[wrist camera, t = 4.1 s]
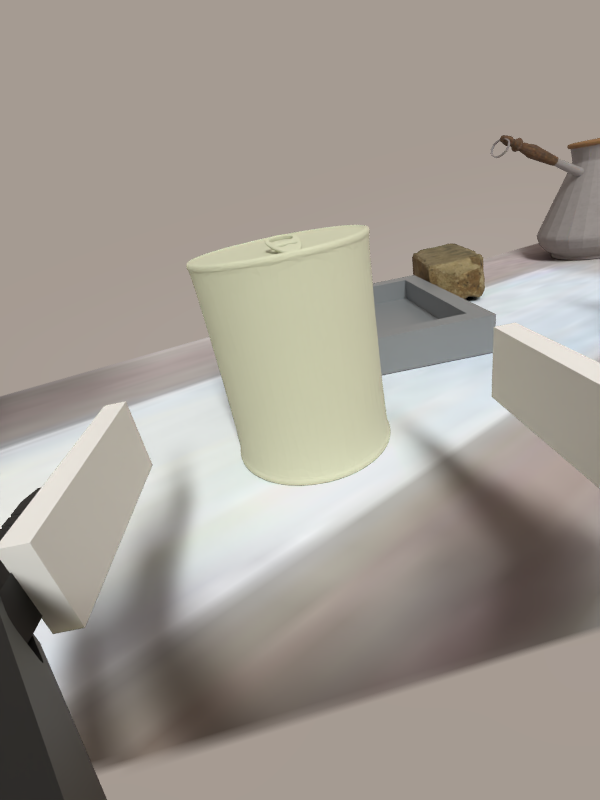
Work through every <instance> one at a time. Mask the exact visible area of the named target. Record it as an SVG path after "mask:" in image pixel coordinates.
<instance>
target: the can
mask: <svg viewBox="0 0 600 800" xmlns="http://www.w3.org/2000/svg"><path fill="white" fill-rule="evenodd" d="M369 233H370V230H369V228H368V227H367V226H365V225H345V226H335V227H327V228H320V229H313V230H307V231H301V232H295V233H290V234H283V235H278V236H273V237H269V238H265V239H261V240H256V241H252V242H247V243H243V244H239V245H235V246H231V247H227V248H224V249H221V250H217V251H214V252H211V253H207V254H205V255H202V256H199V257H197V258H194V259H192V260H191V261H189V262H188V263H187V265H186V267H187V270H188V271H189V273H190V276H191V279H192V282H193V285H194V288H195V291H196V294H197V297H198V300H199V304H200V307H201V310H202V314H203V317H204V320H205V323H206V327H207V329H208V333H209V336H210V340H211V343H212V346H213V350H214V353H215V356H216V360H217V363H218V367H219V370H220V373H221V377H222V380H223V384H224V387H225V391H226V394H227V398H228V401H229V405H230V408H231V412H232V415H233V419H234V422H235V426H236V429H237V433H238V437H239V441H240V445H241V456H242V460H243V462H244V464H245V465H246V467H247V468H248V469H249V470H250V471H251V472H252V473H253V474H255V475H256V476H258V477H260V478H262V479H264V480H267V481H270V482H274V483H278V484H285V485H314V484H320V483H326V482H330V481H334V480H337V479H341V478H344V477H346V476H349V475H351V474H353V473H355V472H358V471H359V470H361V469H363V468H365V467H366V466H368V465H369V464H371V463H372V462H373V461H374V460H375V459H377V458H378V457H379V456H380V455H381V453H382V452H383V451H384V449H385V448H386V446H387V444H388V442H389V439H390V425H389V422H388V420H387V415H386V409H385V401H384V393H383V384H382V375H381V366H380V356H379V346H378V336H377V326H376V316H375V305H374V294H373V282H372V271H371V260H370V246H369Z"/></svg>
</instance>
